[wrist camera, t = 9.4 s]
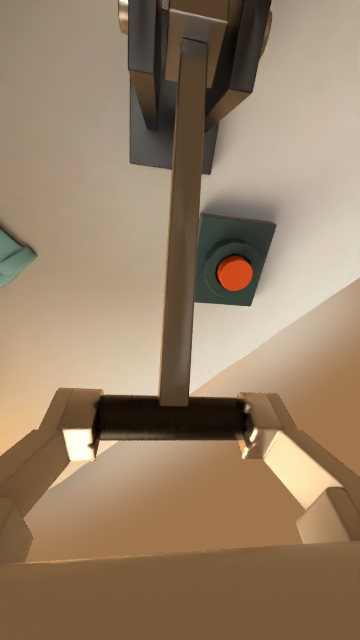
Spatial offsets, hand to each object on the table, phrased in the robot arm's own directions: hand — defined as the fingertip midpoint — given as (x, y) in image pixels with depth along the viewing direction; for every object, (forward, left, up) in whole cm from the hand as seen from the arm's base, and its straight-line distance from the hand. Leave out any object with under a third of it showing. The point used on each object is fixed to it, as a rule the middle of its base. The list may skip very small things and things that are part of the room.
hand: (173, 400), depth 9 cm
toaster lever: (+6, 0, -5) cm, 8 cm away
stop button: (-1, -8, -19) cm, 21 cm away
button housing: (-1, -8, -23) cm, 24 cm away
